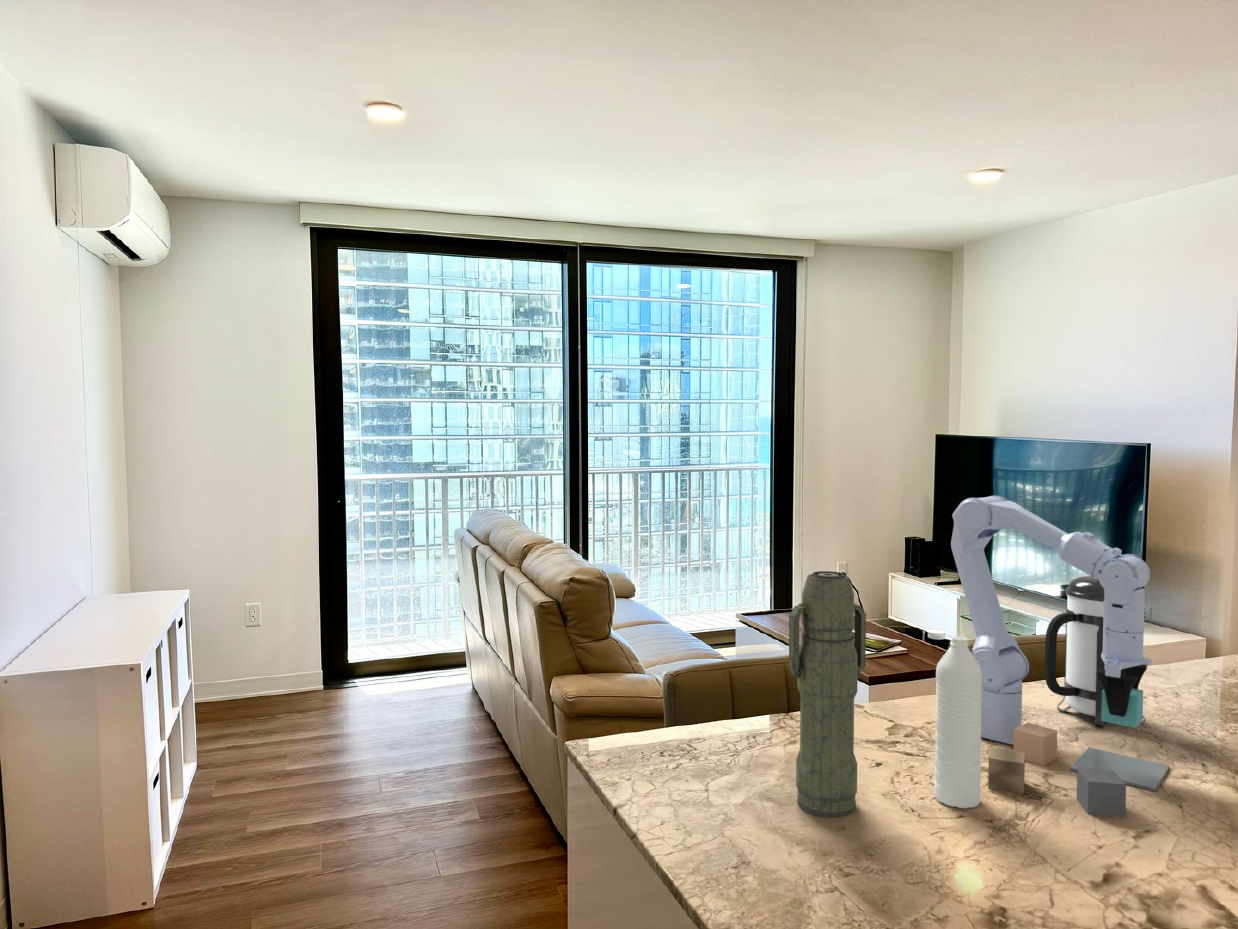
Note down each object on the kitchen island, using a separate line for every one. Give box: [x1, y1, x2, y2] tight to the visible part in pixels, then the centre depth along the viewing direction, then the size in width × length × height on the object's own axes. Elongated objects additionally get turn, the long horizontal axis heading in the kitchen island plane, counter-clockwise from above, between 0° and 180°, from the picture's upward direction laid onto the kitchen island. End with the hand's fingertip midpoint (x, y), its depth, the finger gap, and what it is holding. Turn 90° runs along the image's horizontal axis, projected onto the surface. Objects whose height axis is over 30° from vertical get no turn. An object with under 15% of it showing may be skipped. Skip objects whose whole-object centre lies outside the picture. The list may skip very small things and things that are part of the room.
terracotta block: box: [1013, 722, 1058, 767], centre depth 143 cm, size 5×5×5 cm
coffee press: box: [1044, 575, 1146, 729], centre depth 162 cm, size 17×16×30 cm
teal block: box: [1101, 688, 1144, 729], centre depth 138 cm, size 5×5×5 cm
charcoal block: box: [1076, 768, 1127, 818], centre depth 124 cm, size 5×5×5 cm
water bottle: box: [927, 629, 982, 809], centre depth 128 cm, size 9×6×25 cm
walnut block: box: [987, 746, 1026, 796], centre depth 132 cm, size 5×5×5 cm
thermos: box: [788, 570, 867, 818], centre depth 125 cm, size 9×12×35 cm
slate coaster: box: [1069, 747, 1170, 792], centre depth 138 cm, size 12×12×1 cm
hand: (1121, 710), depth 138 cm, fingers closed on teal block, 5 cm apart
